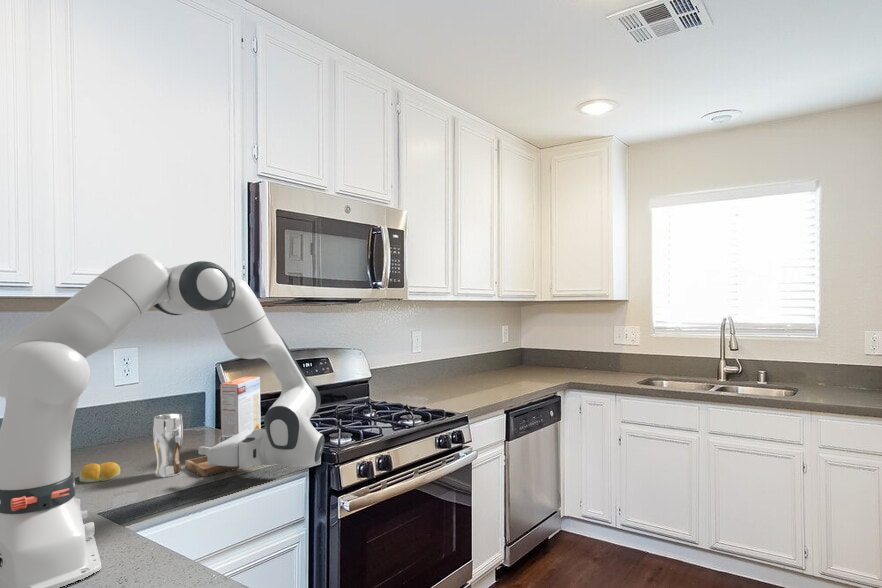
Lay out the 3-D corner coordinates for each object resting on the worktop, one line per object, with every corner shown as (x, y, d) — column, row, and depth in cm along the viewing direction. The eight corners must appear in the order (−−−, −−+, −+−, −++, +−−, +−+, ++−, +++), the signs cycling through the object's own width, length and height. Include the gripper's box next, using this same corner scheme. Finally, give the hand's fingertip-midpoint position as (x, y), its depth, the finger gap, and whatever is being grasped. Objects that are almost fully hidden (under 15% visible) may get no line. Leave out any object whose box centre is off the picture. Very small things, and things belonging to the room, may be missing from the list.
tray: (240, 467, 151) (240, 460, 151) (203, 477, 143) (203, 469, 143) (221, 459, 158) (221, 452, 158) (185, 467, 151) (185, 460, 151)
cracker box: (243, 442, 176) (243, 375, 176) (261, 443, 175) (261, 376, 175) (219, 455, 162) (219, 383, 162) (239, 456, 161) (238, 383, 161)
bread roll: (120, 479, 142) (120, 463, 142) (78, 486, 138) (78, 469, 138) (120, 470, 149) (120, 455, 149) (80, 476, 145) (80, 460, 145)
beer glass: (187, 469, 150) (187, 413, 150) (176, 478, 143) (175, 419, 143) (161, 469, 149) (160, 413, 149) (148, 478, 142) (147, 419, 142)
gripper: (278, 424, 153) (230, 423, 155) (242, 445, 133) (187, 443, 134) (278, 447, 153) (230, 445, 155) (242, 471, 133) (187, 469, 135)
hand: (210, 444), depth 144 cm, fingers open, 8 cm apart
